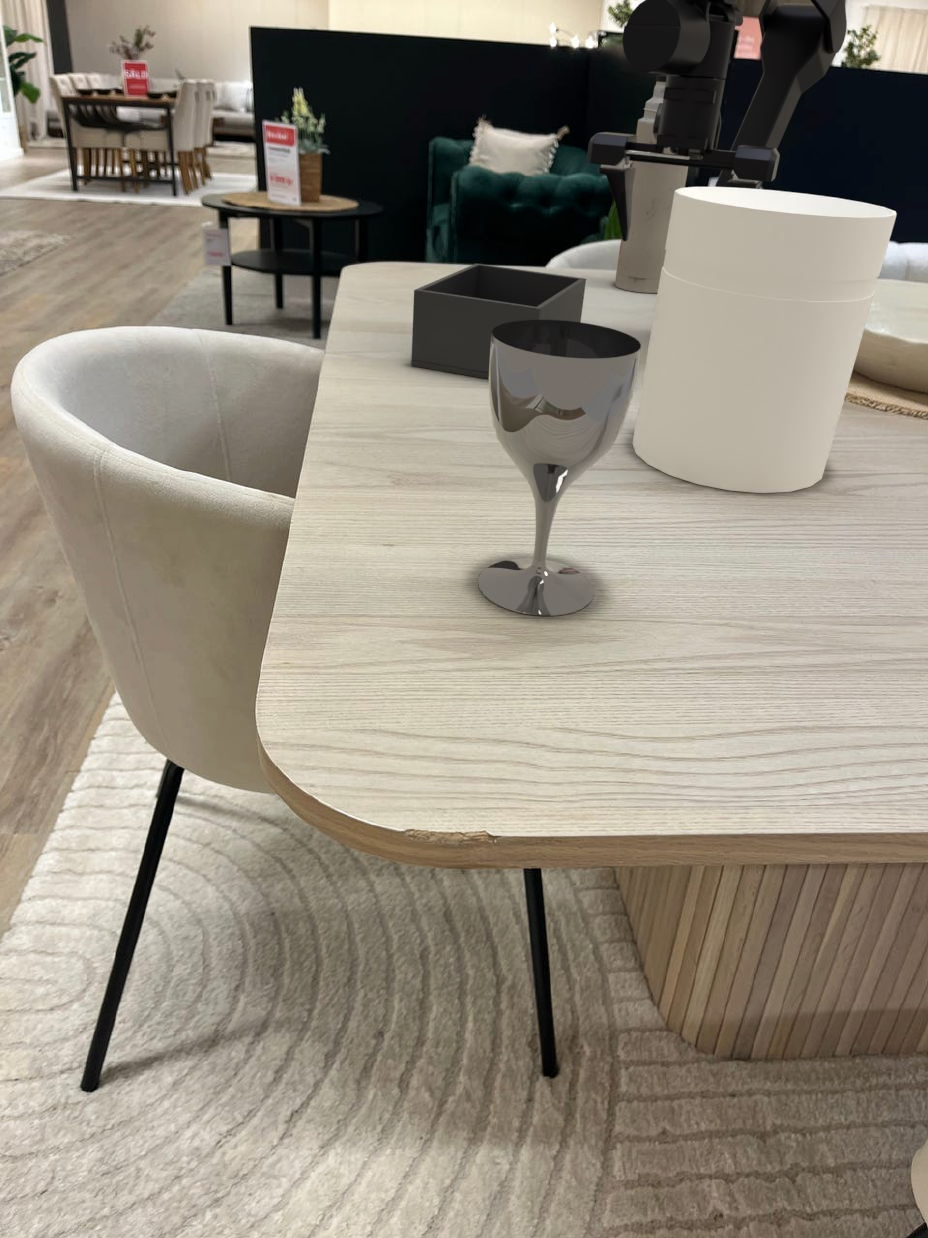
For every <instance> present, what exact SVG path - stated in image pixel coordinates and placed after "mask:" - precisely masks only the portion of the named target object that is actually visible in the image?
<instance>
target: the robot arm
mask: <svg viewBox="0 0 928 1238" xmlns="http://www.w3.org/2000/svg"><path fill="white" fill-rule="evenodd" d="M737 1H738V0H644V1H642V2H640V3H639V4H638V5H637V6H636V7H635V8H634V9H633V10H632V11H631V14H630V15H629V17H628V19H627V22H626V24H625V26H624V28H623V31H622V49H623V53H624V56H625V58H626V60H627V62H628V63H629V64H630V66H631V67H633V68H634V69H635V70H637V71H639V72H641V73H649V74H657V75H667V78H666V84H665V90H664V97H663V103H659V106H658V110H657V113H656V116H655V121H654V125H653V134H654V137H655V139H656V140H657V142H656V144H651V143H641V142H637V135H636V134H633V133H632V134H631V133H621V132H612V131H611V132H609V131H603V132H596V133H595V134H594V135H593V136H592V137H590V140H589V142H588V147H587V154H586V163H587V164H593V165H600V167H598V168H597V173H598V174H599V175H604V176H606V179H607V182H608V185H609V189H610V192H611V194H612V197H613V201H614V205H615V210H616V214H617V219H618V223H619V224H618V225H619V229H620V234H621V237H622V240H623V241H628V238H629V232H630V226H631V211H632V193H633V182H634V177H635V172H636V168H633V167H632V166H631V165H632V161H639V162H649V163H658V164H668V165H678V166H688V168H698V169H709V170H716V171H717V170H718V171H720V174H719V176H718V177H717V180H716V182H715V185H714V187H732V188H750V189H761V187H762V185H763V182H766V183H767V182H768V183H771V182H773V181H774V180H775V179H776V176H777V171H778V167H779V162H780V156H781V155H780V152H779V151H778V148H779V146H780V144H781V141H782V139H783V137H784V134H785V131H786V130H787V127H788V124H789V123H790V120H791V118H792V116H793V113H794V111H795V109H796V107H797V104H798V102H799V99H800V98H801V96H802V94H803V93H805V92H806V91H807V90H809V88H811V87H812V86H813V85H815V84H816V83H817V82H818V81H820V80H821V79H822V78H823V77H825V75H826V73H827V72H828V70H829V68H830V66H831V64H832V62H833V60H834V58H835V57H836V55H837V54H838V53H840V51H841V49H842V47H843V44H844V42H845V39H846V35H847V25H848V24H847V22H848V21H847V11H846V0H810V2H811V3H797V2H795V3H794V2H789V3H788V2H784V3H782V4H779V1H778V0H765V1H764V3H763V6H762V8H761V10H760V12H759V14H758V25H759V29H760V35H761V43H760V45H759V51H760V58H761V64H762V71H763V72H762V76H761V78H760V80H759V83H758V86H757V88H756V91H755V93H754V95H753V97H752V99H751V102H750V104H749V106H748V109H747V111H746V113H745V115H744V117H743V120H742V122H741V125H740V127H739V129H738V132H737V134H736V135H735V139H734V140H733V143H732V146H731V148H730V150H724V149H723V150H722V149H717V148H718V145H719V140H720V133H721V129H722V116H721V115H722V114H721V108H722V107H721V106H722V100H723V97H724V90H725V85H726V79H727V73H728V69H729V62H730V57H731V52H732V46H733V41H734V36H735V30H736V27H742V26H743V23H744V17H743V13H742V11H741V10H740V8H738V6H737V3H736V2H737ZM670 75H678V76H670ZM668 147H670V152H671V153H673V154H665V153H664V148H668Z"/></svg>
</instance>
